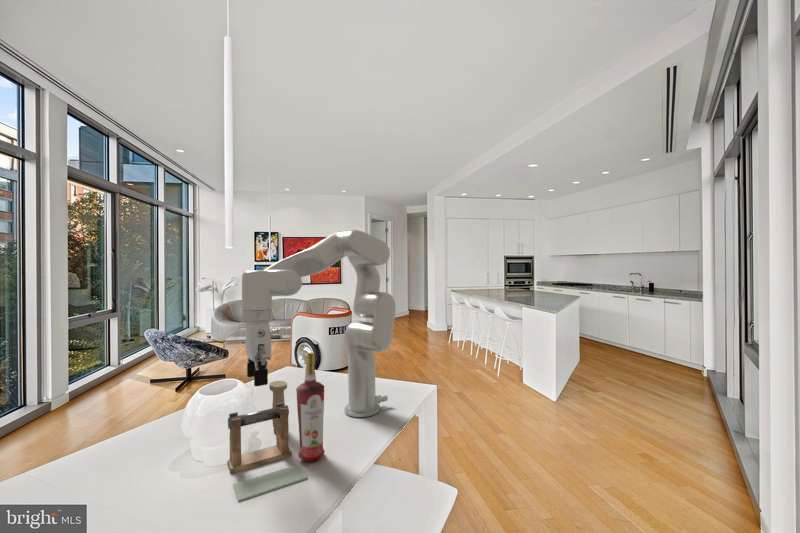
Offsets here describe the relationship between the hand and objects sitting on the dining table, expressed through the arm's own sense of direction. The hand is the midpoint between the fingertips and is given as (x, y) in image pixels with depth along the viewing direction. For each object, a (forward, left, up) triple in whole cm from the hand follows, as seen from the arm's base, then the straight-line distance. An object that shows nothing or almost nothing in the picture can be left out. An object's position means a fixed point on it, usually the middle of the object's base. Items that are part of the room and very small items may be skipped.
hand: (257, 380), depth 97 cm
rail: (0, 0, -10) cm, 10 cm away
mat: (0, +12, -21) cm, 25 cm away
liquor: (-12, +7, -21) cm, 26 cm away
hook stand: (0, 0, -21) cm, 21 cm away
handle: (-9, -14, -21) cm, 27 cm away
